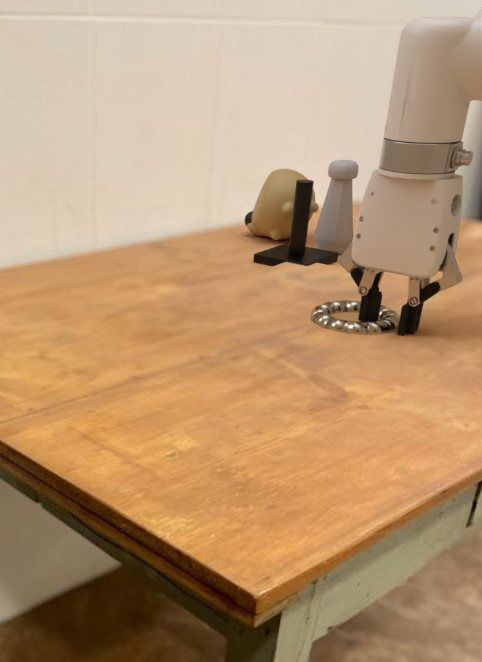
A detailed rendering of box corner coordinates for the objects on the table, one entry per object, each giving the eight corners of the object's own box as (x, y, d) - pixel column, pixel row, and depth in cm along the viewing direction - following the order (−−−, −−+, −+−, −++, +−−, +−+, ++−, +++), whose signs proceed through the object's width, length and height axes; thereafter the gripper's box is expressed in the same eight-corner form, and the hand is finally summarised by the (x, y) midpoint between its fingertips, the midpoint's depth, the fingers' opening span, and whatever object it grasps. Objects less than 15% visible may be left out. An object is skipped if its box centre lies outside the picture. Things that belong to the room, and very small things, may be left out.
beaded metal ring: (412, 326, 95) (416, 310, 94) (373, 349, 89) (376, 331, 88) (336, 309, 101) (338, 293, 100) (293, 329, 95) (295, 312, 94)
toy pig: (296, 256, 137) (274, 204, 140) (337, 209, 127) (312, 153, 129) (248, 261, 133) (226, 207, 136) (285, 213, 123) (261, 155, 125)
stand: (337, 260, 121) (349, 180, 115) (306, 272, 115) (317, 189, 110) (285, 250, 126) (294, 173, 120) (253, 262, 121) (260, 181, 115)
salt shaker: (304, 251, 126) (316, 160, 119) (326, 245, 129) (338, 156, 122) (336, 258, 122) (350, 164, 116) (358, 251, 126) (372, 160, 119)
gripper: (515, 163, 80) (471, 341, 90) (360, 147, 90) (336, 310, 100) (486, 172, 76) (444, 359, 85) (326, 155, 85) (304, 325, 95)
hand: (386, 331), depth 92 cm, fingers open, 3 cm apart
